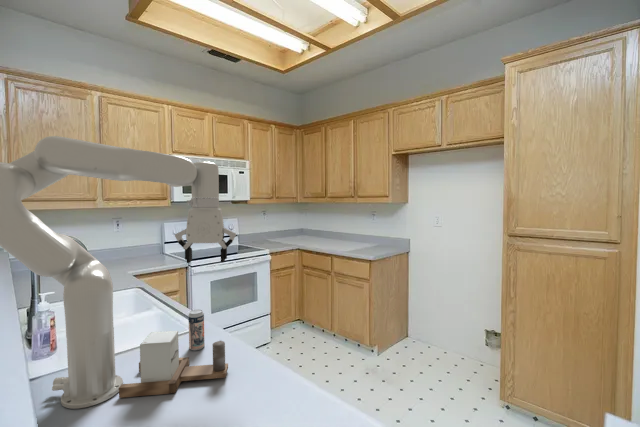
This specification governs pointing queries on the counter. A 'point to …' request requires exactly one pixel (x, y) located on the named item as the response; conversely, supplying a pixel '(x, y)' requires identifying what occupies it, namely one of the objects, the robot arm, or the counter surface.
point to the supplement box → (159, 356)
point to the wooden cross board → (180, 375)
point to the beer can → (196, 330)
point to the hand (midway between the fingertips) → (206, 261)
